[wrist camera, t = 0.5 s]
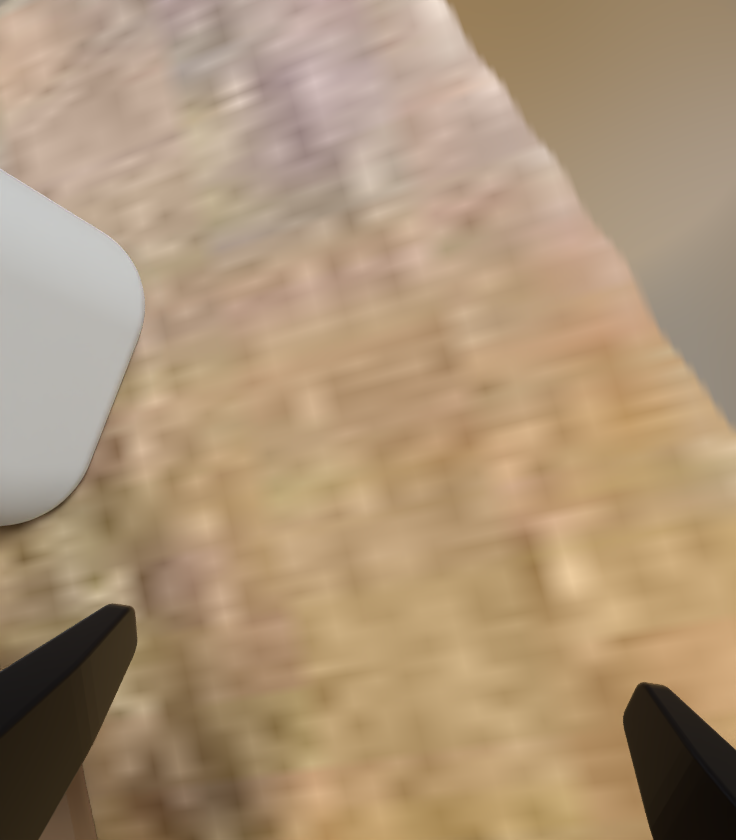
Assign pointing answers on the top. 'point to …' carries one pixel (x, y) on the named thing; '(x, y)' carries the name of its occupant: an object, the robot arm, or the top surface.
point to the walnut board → (72, 814)
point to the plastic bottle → (57, 346)
